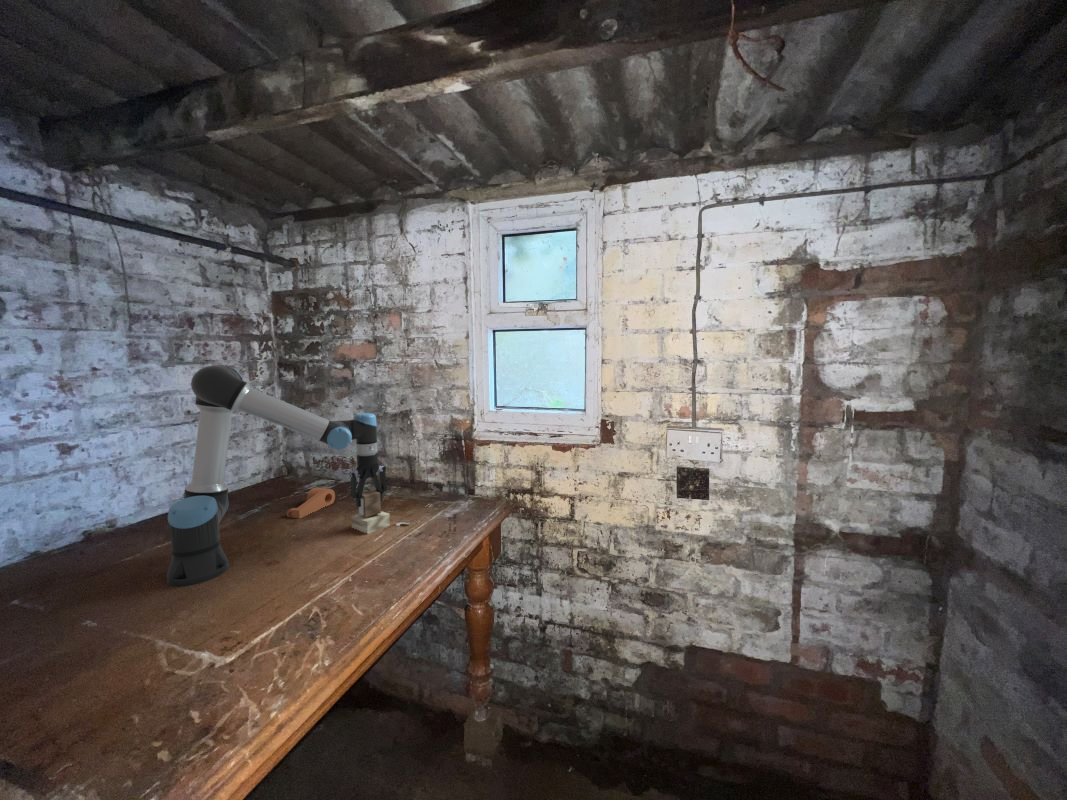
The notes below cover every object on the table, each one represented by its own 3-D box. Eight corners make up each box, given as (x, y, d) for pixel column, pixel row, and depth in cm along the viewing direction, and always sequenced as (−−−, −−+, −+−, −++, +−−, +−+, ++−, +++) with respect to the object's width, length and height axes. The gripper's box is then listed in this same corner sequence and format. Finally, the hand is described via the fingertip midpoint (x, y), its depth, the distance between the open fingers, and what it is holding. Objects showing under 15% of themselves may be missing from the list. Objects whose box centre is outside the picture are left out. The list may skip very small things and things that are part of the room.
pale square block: (367, 534, 160) (367, 521, 160) (351, 528, 166) (351, 516, 165) (390, 525, 168) (389, 513, 168) (374, 520, 174) (373, 508, 174)
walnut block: (365, 517, 162) (364, 496, 162) (359, 513, 167) (358, 493, 166) (380, 512, 167) (380, 492, 166) (374, 509, 171) (373, 489, 170)
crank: (321, 502, 196) (320, 485, 195) (335, 503, 194) (334, 486, 193) (284, 518, 177) (283, 499, 176) (299, 520, 175) (298, 501, 174)
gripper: (346, 459, 155) (349, 521, 157) (395, 451, 168) (397, 508, 171) (338, 456, 160) (341, 516, 163) (386, 448, 173) (388, 503, 176)
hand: (369, 512), depth 167 cm, fingers closed on walnut block, 6 cm apart
